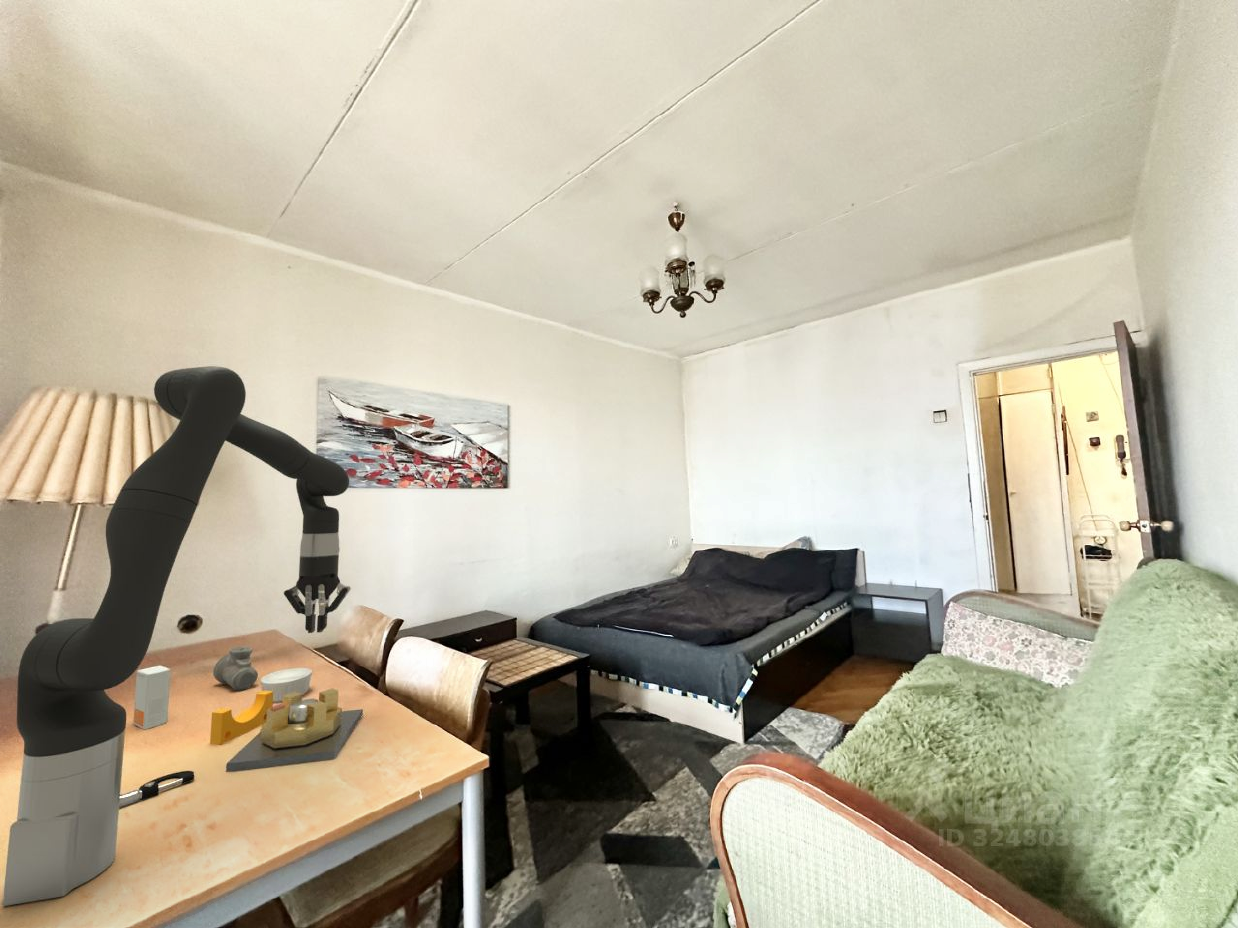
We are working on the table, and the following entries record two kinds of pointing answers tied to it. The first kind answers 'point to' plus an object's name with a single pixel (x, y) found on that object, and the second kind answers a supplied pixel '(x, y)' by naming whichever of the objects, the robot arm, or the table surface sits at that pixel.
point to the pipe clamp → (240, 719)
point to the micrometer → (154, 787)
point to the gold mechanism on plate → (318, 750)
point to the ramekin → (287, 682)
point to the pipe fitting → (236, 669)
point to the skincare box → (151, 697)
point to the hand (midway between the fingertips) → (316, 631)
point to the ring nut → (318, 724)
